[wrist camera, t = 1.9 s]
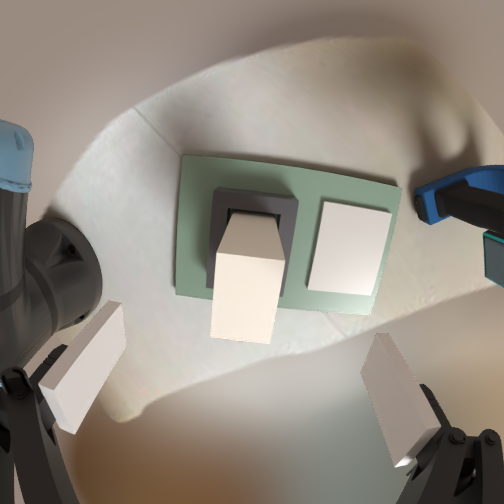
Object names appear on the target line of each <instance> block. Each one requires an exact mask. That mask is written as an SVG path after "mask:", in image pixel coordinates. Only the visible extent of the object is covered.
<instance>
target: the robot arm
mask: <svg viewBox="0 0 504 504" xmlns="http://www.w3.org/2000/svg"><path fill="white" fill-rule="evenodd" d="M33 151H34V143H33V139H32V137H31V135H30V133H29V132H28V131H27V130H26V129H25V128H23V127H22V126H20V125H17V124H14V123H11V122H8V121H4V120H1V119H0V504H15V502H14V462H15V467H16V471H17V476H18V480H19V484H20V488H21V492H22V495H23V499H24V502H25V504H80V503H79V501H78V499H77V496H76V494H75V492H74V489H73V486H72V484H71V481H70V478H69V476H68V473H67V470H66V467H65V464H64V461H63V458H62V455H61V452H60V448H59V445H58V441H57V438H56V434H55V430H54V428H53V424H54V422H55V421H57V423H58V425H59V427H60V428H61V429H63V430H65V431H68V432H70V433H73V434H75V433H76V431H77V429H78V428H79V426H80V424H81V422H82V420H83V419H84V417H85V415H86V413H87V411H88V410H89V408H90V406H91V404H92V403H93V401H94V399H95V397H96V396H97V394H98V392H99V391H100V389H101V387H102V385H103V384H104V382H105V380H106V379H107V377H108V375H109V374H110V372H111V370H112V369H113V367H114V365H115V364H116V362H117V360H118V359H119V357H120V356H121V354H122V352H123V351H124V349H125V347H126V346H127V345H126V338H125V330H124V322H123V313H122V303H118V302H113V301H108V302H107V303H106V304H105V305H104V306H103V307H102V308H101V310H100V311H99V312H98V313H97V314H96V315H95V316H94V317H93V319H92V320H91V321H90V322H89V323H88V324H87V325H86V326H85V328H84V329H83V330H82V331H81V332H80V333H79V335H78V336H77V337H76V338H75V339H74V340H73V342H72V343H71V344H70V345H69V346H67V345H64V344H62V345H60V346H58V347H57V348H55V349H54V350H53V351H52V352H51V353H50V354H49V355H48V358H46V359H45V360H44V361H43V363H42V364H41V365H40V366H39V367H38V368H37V369H36V371H35V372H34V373H33V374H32V375H31V377H30V378H28V376H27V374H26V372H25V371H24V370H23V368H24V367H25V366H26V364H27V363H28V362H29V361H30V359H32V357H33V356H34V355H35V354H36V353H37V351H39V350H40V348H41V347H42V346H43V345H44V344H45V343H46V342H47V341H48V339H49V338H50V337H51V336H52V335H53V334H54V333H55V332H58V331H60V330H63V329H65V328H68V327H70V326H73V325H75V324H78V323H80V322H82V321H83V320H85V319H86V318H87V317H88V316H89V315H90V314H91V313H92V312H93V311H94V310H95V308H96V307H97V305H98V303H99V301H100V298H101V294H102V275H101V270H100V266H99V263H98V260H97V257H96V255H95V253H94V251H93V249H92V247H91V246H90V244H89V243H88V241H87V240H86V238H85V237H84V236H83V235H82V234H81V233H80V232H79V231H78V230H77V229H76V228H75V227H74V226H72V225H71V224H69V223H68V222H66V221H64V220H61V219H57V218H46V219H42V220H40V221H38V222H36V223H33V224H31V225H30V226H28V227H27V228H26V212H27V211H26V210H27V201H28V192H29V191H30V190H31V186H32V183H31V181H30V177H31V167H32V158H33ZM360 373H361V375H362V378H363V380H364V383H365V386H366V388H367V391H368V394H369V396H370V399H371V401H372V404H373V407H374V410H375V412H376V415H377V418H378V421H379V424H380V426H381V429H382V432H383V435H384V438H385V441H386V443H387V446H388V449H389V452H390V455H391V458H392V461H393V464H394V467H398V466H403V465H407V464H410V462H411V461H412V460H413V459H414V458H415V457H416V459H417V461H418V463H417V464H416V465H415V466H414V467H413V468H412V469H411V470H410V471H409V472H408V473H407V474H406V475H407V476H408V475H409V474H410V473H411V475H410V477H409V479H408V481H407V483H406V485H405V487H404V489H403V491H402V493H401V495H400V497H399V499H398V501H397V503H396V504H504V461H503V452H502V444H501V439H500V436H499V435H498V433H497V432H495V431H494V430H491V429H486V430H484V431H482V433H481V434H480V435H479V436H478V437H474V436H473V437H472V436H466V434H465V433H464V432H463V431H462V430H461V429H459V428H455V427H451V425H450V423H449V421H448V420H447V418H446V416H445V414H444V412H443V410H442V409H441V407H440V406H439V403H438V402H437V400H435V397H434V395H433V393H432V391H431V390H430V389H429V388H428V387H427V386H426V385H424V384H420V385H419V384H418V382H417V380H416V379H415V377H414V375H413V373H412V372H411V370H410V368H409V367H408V365H407V363H406V361H405V360H404V359H403V357H402V355H401V353H400V351H399V350H398V348H397V346H396V345H395V343H394V342H393V340H392V338H391V337H390V335H389V334H388V333H376V335H375V338H374V340H373V343H372V345H371V348H370V350H369V353H368V355H367V358H366V360H365V362H364V365H363V367H362V369H361V372H360Z"/></svg>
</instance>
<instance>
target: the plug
mask: <svg viewBox="0 0 504 504" xmlns="http://www.w3.org/2000/svg"><path fill="white" fill-rule="evenodd" d="M284 266H285V257H284V253H283V249H282V245H281V241H280V237H279V233H278V229H277V225H276V221H275V217H274V213H266V212H258V211H250V210H241V209H234V211H233V214H232V216H231V219H230V221H229V223H228V226H227V228H226V231H225V233H224V235H223V238H222V240H221V243H220V245H219V248H218V250H217V253H216V265H215V278H214V291H213V305H212V321H211V337H214V338H222V339H230V340H238V341H247V342H256V343H266V344H270V342H271V337H272V332H273V326H274V321H275V316H276V311H277V305H278V300H279V294H280V289H281V283H282V277H283V272H284Z"/></svg>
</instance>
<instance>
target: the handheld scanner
mask: <svg viewBox="0 0 504 504" xmlns="http://www.w3.org/2000/svg"><path fill="white" fill-rule="evenodd" d="M415 193H416V196H415V200H414V201H415V205H416V209H417V214H418V218H419V219H420V220H422V221H423V222H425V223H427V224H429V225H432V224H435V223H437V222H439V221H441V220H444V219H446V218H448V217H450V216H452V217H455V218H457V219H460V220H462V221H464V222H467V223H469V224H472V225H474V226H477V227H480V228H485V229H489V230H487V231H485V232H484V233H483V246H484V266H485V277H486V278H488V279H489V280H491V281H493V282H495V283H496V284H498V285H500V286H502V287H503V288H504V165H486V166H479V167H474V168H469V169H465V170H462V171H459V172H457V173H454V174H452V175H449V176H447V177H444V178H442V179H439V180H437V181H434V182H432V183H429V184H427V185H424V186H422V187H419V188H417V189H415ZM491 230H492V231H491ZM493 231H494V232H493Z"/></svg>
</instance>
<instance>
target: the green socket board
mask: <svg viewBox="0 0 504 504" xmlns="http://www.w3.org/2000/svg"><path fill="white" fill-rule="evenodd" d="M401 193H402V188H400V187H396V186H392V185H387V184H383V183H379V182H374V181H369V180H365V179H360V178H355V177H350V176H345V175H340V174H334V173H329V172H323V171H318V170H312V169H305V168H299V167H293V166H286V165H279V164H271V163H264V162H256V161H247V160H238V159H229V158H218V157H207V156H194V155H183V157H182V168H181V180H180V193H179V208H178V225H177V248H176V295H181V296H188V297H195V298H202V299H210V300H213V291H214V278H215V265H216V253H217V250H218V248H219V245H220V243H221V240H222V238H223V235H224V233H225V231H226V228H227V226H228V223H229V221H230V219H231V216H232V214H233V211H234V209H241V210H250V211H258V212H266V213H274V217H275V221H276V225H277V229H278V233H279V237H280V241H281V245H282V249H283V253H284V257H285V266H284V272H283V277H282V283H281V289H280V294H279V300H278V305H277V308H287V309H298V310H309V311H320V312H333V313H347V314H362V315H370V313H371V310H372V307H373V304H374V301H375V297H376V294H377V291H378V288H379V284H380V281H381V277H382V274H383V270H384V267H385V263H386V259H387V256H388V252H389V248H390V244H391V240H392V236H393V231H394V227H395V222H396V218H397V213H398V208H399V203H400V198H401Z"/></svg>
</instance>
